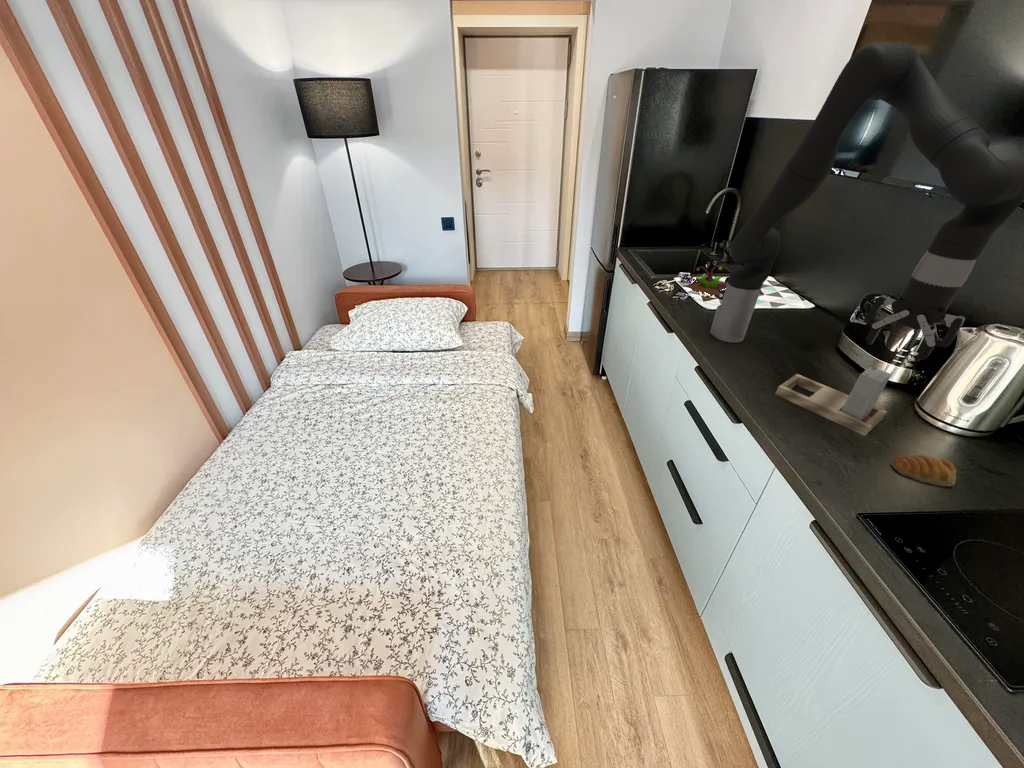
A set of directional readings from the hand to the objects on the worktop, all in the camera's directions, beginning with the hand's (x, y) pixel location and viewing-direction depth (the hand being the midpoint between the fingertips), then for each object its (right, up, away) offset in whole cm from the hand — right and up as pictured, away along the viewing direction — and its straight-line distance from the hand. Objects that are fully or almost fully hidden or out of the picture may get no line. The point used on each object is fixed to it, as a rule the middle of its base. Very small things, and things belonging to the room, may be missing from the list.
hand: (893, 351), depth 89 cm
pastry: (+2, -26, -4) cm, 26 cm away
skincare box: (0, -15, +11) cm, 18 cm away
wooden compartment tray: (-4, -12, +14) cm, 19 cm away
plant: (-4, +29, +77) cm, 82 cm away
